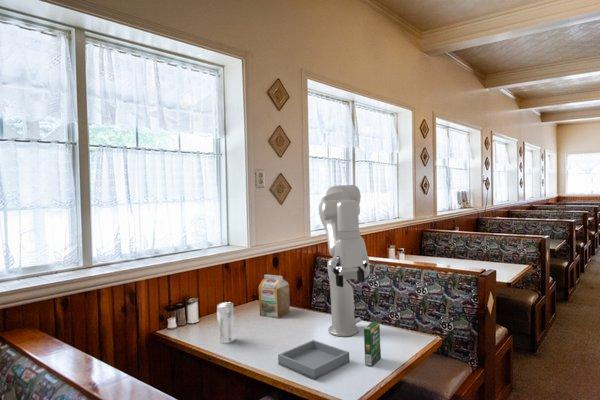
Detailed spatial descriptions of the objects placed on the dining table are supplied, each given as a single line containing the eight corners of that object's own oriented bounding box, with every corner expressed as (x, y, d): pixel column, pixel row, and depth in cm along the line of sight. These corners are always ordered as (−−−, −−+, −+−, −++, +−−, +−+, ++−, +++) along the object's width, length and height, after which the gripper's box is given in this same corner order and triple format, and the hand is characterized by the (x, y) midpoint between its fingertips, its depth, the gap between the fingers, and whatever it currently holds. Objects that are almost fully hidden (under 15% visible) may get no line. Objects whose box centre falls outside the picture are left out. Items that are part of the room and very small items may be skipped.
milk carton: (290, 312, 203) (288, 273, 202) (277, 318, 194) (276, 278, 193) (272, 309, 208) (270, 272, 208) (259, 315, 199) (257, 276, 199)
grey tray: (313, 348, 157) (313, 339, 157) (349, 362, 144) (349, 352, 144) (278, 364, 145) (277, 354, 144) (314, 380, 132) (313, 369, 132)
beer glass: (239, 338, 171) (237, 302, 170) (229, 344, 165) (227, 307, 164) (225, 336, 174) (223, 301, 173) (215, 342, 167) (213, 306, 167)
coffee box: (372, 367, 139) (370, 329, 138) (364, 365, 140) (362, 327, 140) (381, 358, 146) (380, 321, 145) (374, 357, 147) (372, 320, 147)
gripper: (359, 232, 153) (361, 278, 153) (322, 237, 144) (324, 286, 144) (374, 234, 147) (376, 282, 147) (335, 238, 137) (338, 290, 137)
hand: (350, 284), depth 145 cm, fingers open, 9 cm apart
